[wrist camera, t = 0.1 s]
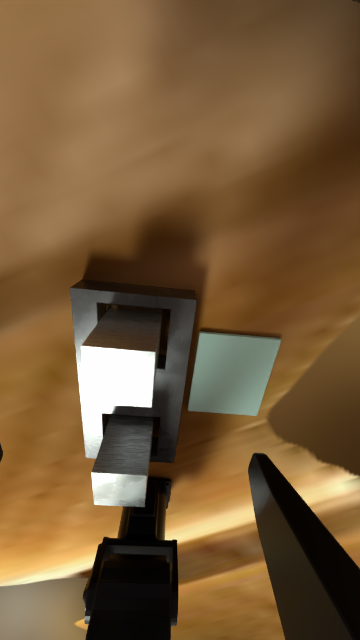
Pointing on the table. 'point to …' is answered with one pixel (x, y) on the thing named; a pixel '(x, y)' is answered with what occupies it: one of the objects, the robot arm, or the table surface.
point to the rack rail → (170, 367)
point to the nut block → (122, 356)
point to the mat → (231, 372)
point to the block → (123, 461)
